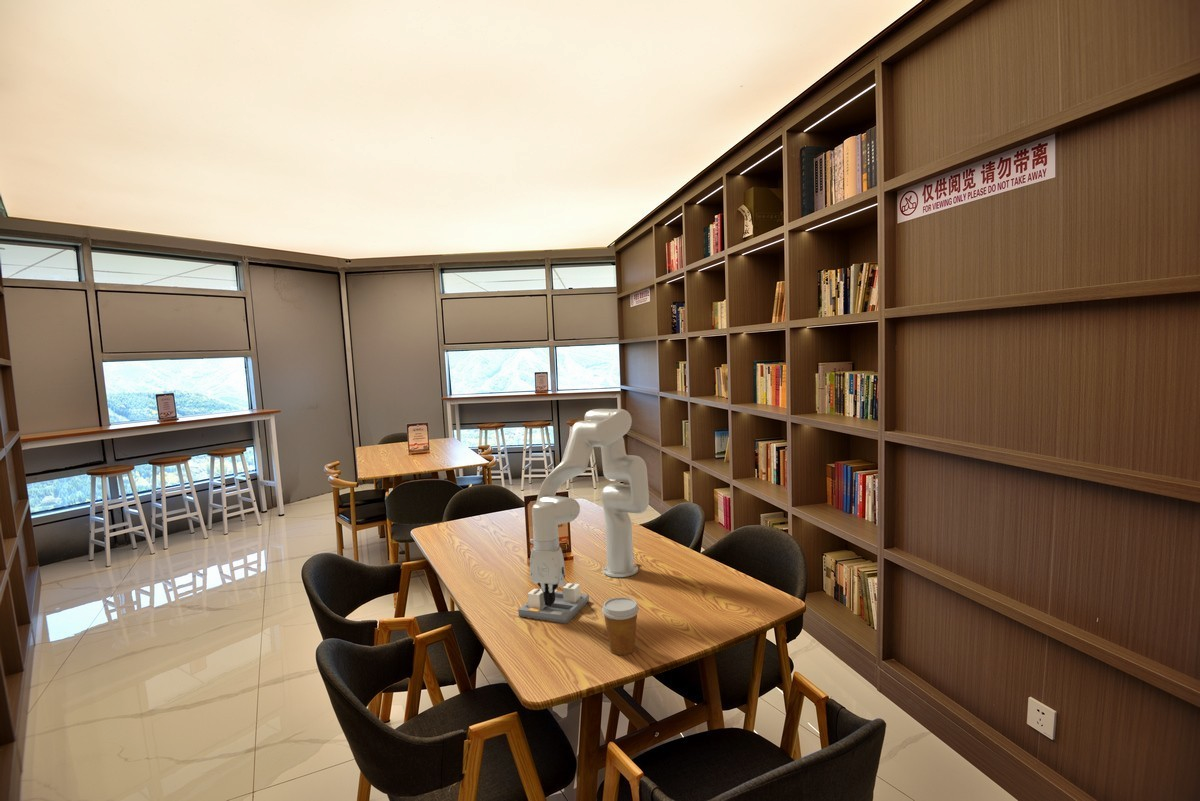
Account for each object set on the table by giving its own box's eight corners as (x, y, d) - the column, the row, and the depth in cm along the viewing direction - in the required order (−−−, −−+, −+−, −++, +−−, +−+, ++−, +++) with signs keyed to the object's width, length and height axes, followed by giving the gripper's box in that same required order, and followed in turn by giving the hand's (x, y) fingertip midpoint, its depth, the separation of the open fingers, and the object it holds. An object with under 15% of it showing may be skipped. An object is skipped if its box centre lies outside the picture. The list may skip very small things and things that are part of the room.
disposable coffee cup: (646, 644, 144) (644, 600, 143) (630, 662, 136) (627, 614, 135) (615, 637, 149) (613, 594, 148) (597, 653, 141) (594, 607, 140)
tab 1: (535, 604, 170) (534, 587, 170) (546, 605, 168) (545, 588, 168) (528, 609, 166) (527, 592, 166) (540, 611, 165) (539, 594, 165)
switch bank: (544, 595, 180) (543, 588, 179) (589, 601, 173) (588, 593, 173) (518, 616, 165) (518, 608, 165) (566, 623, 159) (566, 615, 159)
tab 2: (569, 598, 173) (568, 581, 173) (580, 599, 172) (579, 583, 171) (563, 603, 170) (562, 586, 169) (575, 605, 168) (574, 588, 168)
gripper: (518, 545, 164) (521, 606, 165) (563, 549, 158) (566, 612, 159) (530, 538, 171) (534, 596, 172) (574, 541, 165) (577, 601, 166)
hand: (549, 603), depth 166 cm, fingers closed
